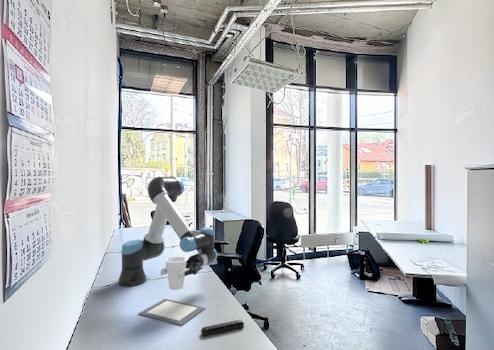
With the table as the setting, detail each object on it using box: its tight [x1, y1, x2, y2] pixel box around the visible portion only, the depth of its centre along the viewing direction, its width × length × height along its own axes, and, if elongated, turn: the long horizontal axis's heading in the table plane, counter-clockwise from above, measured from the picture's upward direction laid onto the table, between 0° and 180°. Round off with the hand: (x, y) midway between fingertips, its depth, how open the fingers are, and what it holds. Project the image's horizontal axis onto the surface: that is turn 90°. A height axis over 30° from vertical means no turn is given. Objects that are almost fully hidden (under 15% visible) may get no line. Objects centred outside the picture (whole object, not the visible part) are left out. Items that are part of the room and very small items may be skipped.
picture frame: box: [138, 298, 206, 327], centre depth 147 cm, size 24×18×1 cm
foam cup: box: [165, 256, 187, 291], centre depth 149 cm, size 10×9×13 cm
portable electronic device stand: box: [200, 319, 245, 338], centre depth 130 cm, size 18×3×3 cm, turn 115°
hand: (170, 274), depth 145 cm, fingers closed on foam cup, 9 cm apart
